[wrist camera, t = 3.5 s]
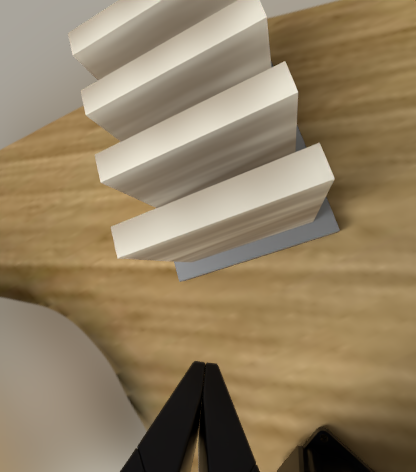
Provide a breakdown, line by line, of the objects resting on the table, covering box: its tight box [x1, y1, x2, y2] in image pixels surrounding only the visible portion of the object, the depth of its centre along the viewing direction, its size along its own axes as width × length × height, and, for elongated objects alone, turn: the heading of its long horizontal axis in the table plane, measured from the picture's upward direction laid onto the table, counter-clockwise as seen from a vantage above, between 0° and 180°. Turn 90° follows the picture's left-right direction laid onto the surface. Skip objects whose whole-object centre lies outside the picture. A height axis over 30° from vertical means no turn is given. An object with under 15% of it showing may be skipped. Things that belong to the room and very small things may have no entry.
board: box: [174, 62, 340, 282], centre depth 23 cm, size 16×13×1 cm
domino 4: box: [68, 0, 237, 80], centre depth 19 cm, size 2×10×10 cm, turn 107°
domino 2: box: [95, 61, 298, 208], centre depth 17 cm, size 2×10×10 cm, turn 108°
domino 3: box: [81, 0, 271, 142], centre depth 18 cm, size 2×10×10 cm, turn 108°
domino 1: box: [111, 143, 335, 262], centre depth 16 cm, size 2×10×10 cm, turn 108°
